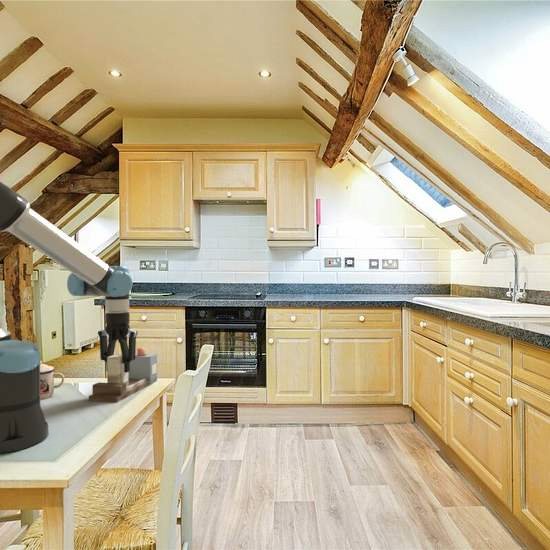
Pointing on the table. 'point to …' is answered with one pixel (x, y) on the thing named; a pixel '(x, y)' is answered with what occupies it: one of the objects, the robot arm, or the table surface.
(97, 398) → the rail bed
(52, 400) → the table surface
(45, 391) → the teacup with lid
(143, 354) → the button
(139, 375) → the cabinet
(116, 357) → the carriage
